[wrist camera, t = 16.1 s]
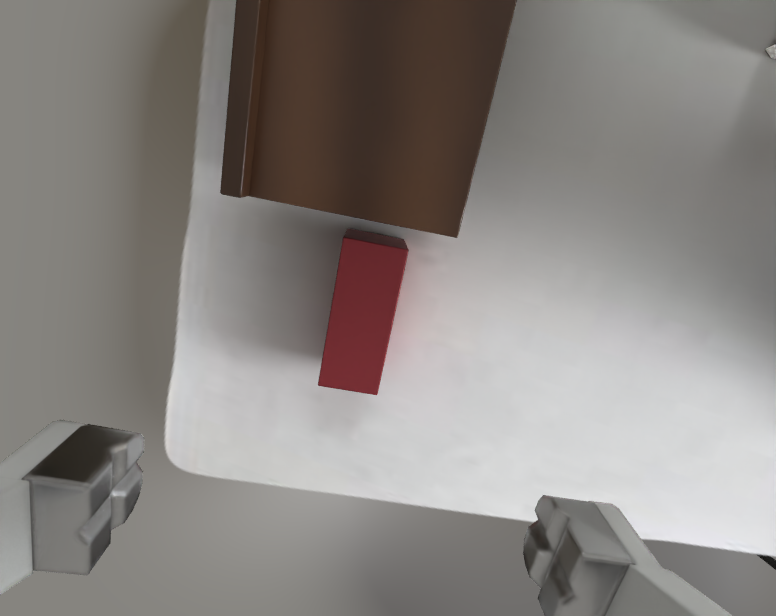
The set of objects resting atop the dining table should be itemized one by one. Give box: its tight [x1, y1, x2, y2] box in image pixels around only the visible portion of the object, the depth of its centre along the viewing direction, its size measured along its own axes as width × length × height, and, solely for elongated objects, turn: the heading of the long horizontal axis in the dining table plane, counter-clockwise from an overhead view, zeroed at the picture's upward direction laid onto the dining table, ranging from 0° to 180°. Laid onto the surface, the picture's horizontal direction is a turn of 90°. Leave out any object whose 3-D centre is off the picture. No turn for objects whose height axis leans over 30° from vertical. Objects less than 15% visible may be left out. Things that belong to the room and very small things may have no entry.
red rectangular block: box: [318, 228, 409, 395], centre depth 32 cm, size 4×11×4 cm, turn 169°
